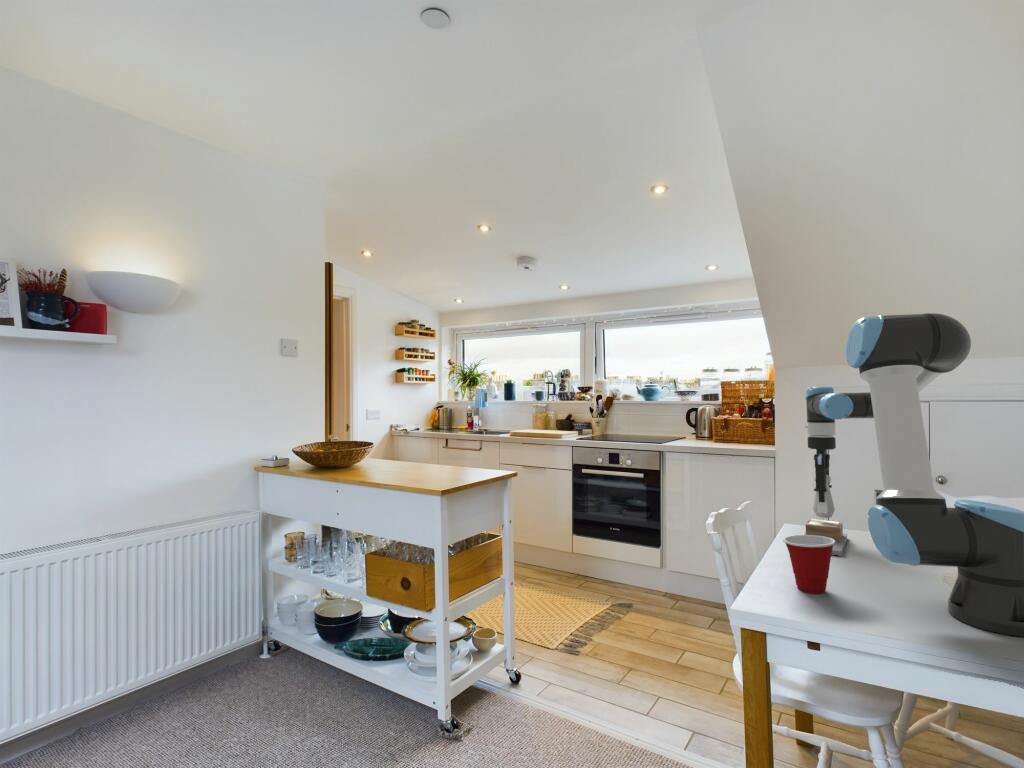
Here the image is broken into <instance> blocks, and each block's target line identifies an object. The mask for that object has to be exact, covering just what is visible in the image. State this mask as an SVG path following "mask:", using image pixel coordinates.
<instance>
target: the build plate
mask: <svg viewBox="0 0 1024 768" xmlns="http://www.w3.org/2000/svg"><path fill="white" fill-rule="evenodd" d="M803 535H806V531H805V533H803ZM847 541H848V534H847V533H844V532H843V536H842V539H841V542H836V541H835V543H834V545H833V549H832V555H831V556H833V555H838V556H837V557H840V556H842V555H843V553H844V551H845V546H846V545H847ZM842 557H843V556H842Z"/></svg>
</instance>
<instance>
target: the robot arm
mask: <svg viewBox="0 0 1024 768" xmlns="http://www.w3.org/2000/svg"><path fill="white" fill-rule="evenodd" d="M971 348H972V339H971V336H970V333H969V331H968V330H967V328H966V327H965V326H964V325H963V324H962V323H961V322H960V321H959V320H957V319H956V318H954V317H952V316H949V315H946V314H942V313H935V312H933V313H932V312H931V313H929V312H928V313H915V314H913V313H911V314H892V315H891V314H890V315H883V314H879V315H874V316H863V317H861V318H859V319H857V320H856V321H855V323H853V325H852V327H851V328H850V331H849V334H848V337H847V341H846V347H845V349H846V350H845V352H846V353H845V354H846V361H847V363H848V365H849V367H851V368H854V369H859V377H860V379H862V380H863V381H866V382H867V383H868V385H869V386H868V387H869V391H870V392H866V391H865V392H835V391H834V390H835V389H834V387H832V386H810V387H807V388H806V393H805V395H806V396H805V401H806V422H807V424H806V425H804V428H805V429H807V435H808V437H807V448H808V449H810V450H816V451H815V452H816V453H815V454H814V455H813V460H814V468H815V475H816V481H815V488H813V491H814V492H816V491H817V512H819V513H828V506H827V489H826V475H829V476H830V460H831V455H830V454H829V453H828V450H829V451H830V450H831V451H832V450H835V449H836V448H837V446H836V445H837V444H836V443H837V442H836V441H837V439H836V438H835V435H836V420H842V419H844V420H845V419H848V420H849V419H874V420H873V421H874V430H875V435H876V442H877V443H876V445H877V450H878V457H879V464H880V471H881V480H882V485H883V486H882V487H883V489H882V490H883V492H882V493H881V494H879V495H878V496H877V505H873V506H870V508H869V509H868V512H867V514H868V517H867V524H868V525H867V526H868V530H869V534H870V536H871V539H872V541H873V543H874V546H875V548H876V549H877V550H878V552H879V553H880V554H881V555H882V557H883V558H885V559H886V560H887V561H890V563H891V562H892V563H895V564H905V565H910V566H914V567H915V566H916V567H917V566H932V567H934V566H935V567H955V568H957V577H956V580H955V582H954V584H953V587H952V590H951V592H950V595H949V597H948V600H947V610H948V613H949V615H951V616H952V617H953V618H954V619H956V620H958V621H961V622H962V623H965V624H967V625H969V626H973V627H976V628H978V629H981V630H984V631H985V630H986V631H988V632H989V631H990V632H993V633H998V634H1003V635H1008V636H1014V637H1015V636H1016V637H1020V638H1021V637H1023V638H1024V511H1023V510H1020V509H1018V508H1014V507H1012V506H1011V507H1010V506H1006V505H1000V504H996V503H991V502H984V501H979V500H971V499H957V500H955V502H954V504H953V506H954V507H948V506H947V501H946V497H944V496H943V495H942V494H940V493H939V492H937V491H936V489H935V486H934V480H933V479H934V478H933V472H932V468H931V461H930V455H929V454H930V453H929V448H928V444H927V443H928V442H927V435H926V430H925V426H924V425H925V424H924V418H923V412H922V407H921V406H922V405H921V399H920V392H921V391H923V389H925V388H926V387H927V386H928V385H930V384H931V383H932V382H934V380H936V379H937V378H938V377H939V376H940V375H942V374H946V373H950V372H952V371H954V370H955V369H957V368H958V367H959V366H961V364H962V363H963V362H964V361H965V360H966V358H967V357H968V356H969V354H970V351H971ZM828 484H829V488H830V489H832V488H833V487H832V484H831V481H830V482H829V483H828Z"/></svg>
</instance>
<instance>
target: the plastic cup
mask: <svg viewBox="0 0 1024 768" xmlns="http://www.w3.org/2000/svg"><path fill="white" fill-rule="evenodd" d="M782 541H783V542H784V543H785V545H786V548H787V551H788V554H789V558H790V562H791V568H792V572H793V574H794V579H795V585H796V587H797V590H799V591H801V592H803V591H804V593H808V594H813V595H815V594H816V595H821V594H824V593H826V590H827V585H828V584H827V583H828V578H829V574H830V564H831V559H832V558H831V557H832V556H833V555H832V549H833V545H834V543H835V540H834V539H832V538H828V537H824V536H816V535H804V534H795V535H789V536H785V537H783V538H782Z"/></svg>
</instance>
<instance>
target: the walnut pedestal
mask: <svg viewBox="0 0 1024 768" xmlns="http://www.w3.org/2000/svg"><path fill="white" fill-rule="evenodd" d="M843 529H844V528H843V521H833V520H827V519H826V520H825V519H815V518H809V519H808V521H807V522H806V523H805V532H806V535H816V536H824V537H828V538H832V539H834V540H835V541H836V542H841V539H842V536H843V533H844V532H843V531H844V530H843Z"/></svg>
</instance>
